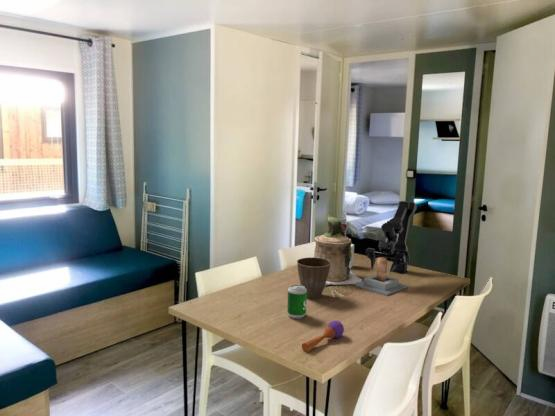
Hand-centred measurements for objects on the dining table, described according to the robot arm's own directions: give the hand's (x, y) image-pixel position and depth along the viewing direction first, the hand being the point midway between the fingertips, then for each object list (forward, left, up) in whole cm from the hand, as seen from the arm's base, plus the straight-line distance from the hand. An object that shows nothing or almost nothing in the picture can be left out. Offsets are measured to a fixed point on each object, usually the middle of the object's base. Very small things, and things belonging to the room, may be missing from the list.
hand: (381, 270), depth 217 cm
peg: (0, +1, -8) cm, 8 cm away
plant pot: (-13, -34, -9) cm, 37 cm away
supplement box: (-33, +16, -9) cm, 38 cm away
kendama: (+20, -66, -9) cm, 70 cm away
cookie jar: (-25, -6, -9) cm, 27 cm away
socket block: (0, +1, -9) cm, 9 cm away
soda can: (-2, -56, -9) cm, 56 cm away
